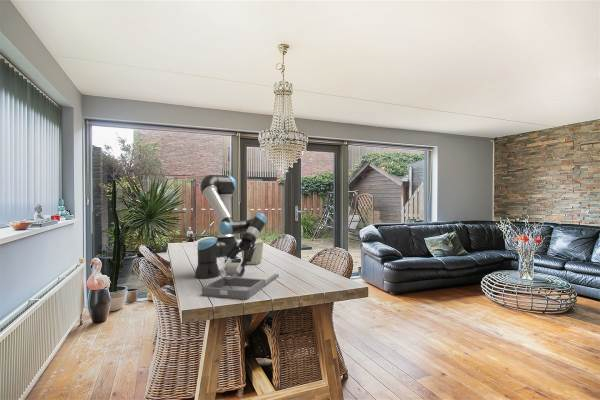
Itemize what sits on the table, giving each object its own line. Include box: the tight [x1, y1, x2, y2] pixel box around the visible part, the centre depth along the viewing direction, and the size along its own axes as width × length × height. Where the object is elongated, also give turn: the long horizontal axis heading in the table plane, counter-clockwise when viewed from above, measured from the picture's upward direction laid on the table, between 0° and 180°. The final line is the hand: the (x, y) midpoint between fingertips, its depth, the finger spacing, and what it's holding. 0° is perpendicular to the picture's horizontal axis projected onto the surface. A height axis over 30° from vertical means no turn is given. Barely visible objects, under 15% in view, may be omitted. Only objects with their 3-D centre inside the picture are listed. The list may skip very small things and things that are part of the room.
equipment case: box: [201, 271, 280, 300], centre depth 185 cm, size 25×47×4 cm, turn 164°
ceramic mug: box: [224, 262, 246, 280], centre depth 172 cm, size 11×8×8 cm
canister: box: [239, 238, 265, 265], centre depth 244 cm, size 18×18×21 cm
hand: (230, 270), depth 171 cm, fingers closed on ceramic mug, 9 cm apart
